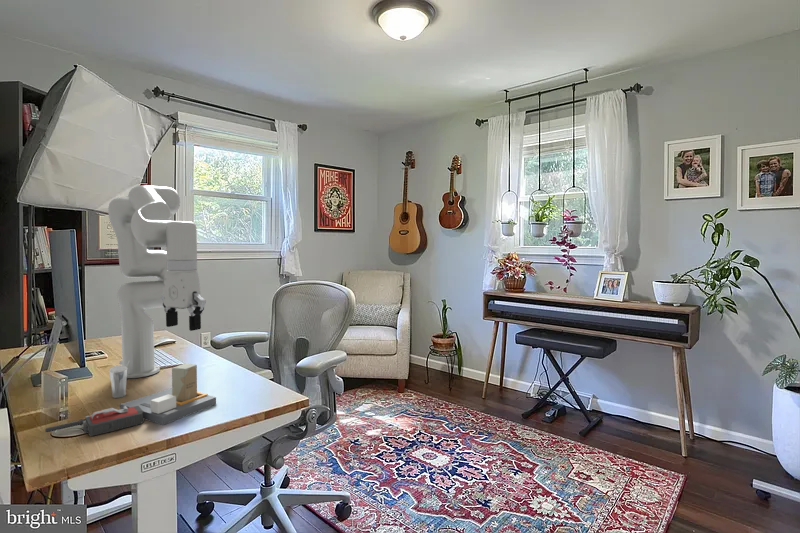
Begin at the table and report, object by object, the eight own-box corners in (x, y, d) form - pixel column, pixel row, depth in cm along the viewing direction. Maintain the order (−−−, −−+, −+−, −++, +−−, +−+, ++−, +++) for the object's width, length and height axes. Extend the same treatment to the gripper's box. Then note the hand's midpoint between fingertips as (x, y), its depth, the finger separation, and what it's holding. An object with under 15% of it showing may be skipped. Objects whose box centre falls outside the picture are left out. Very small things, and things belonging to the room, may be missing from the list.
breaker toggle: (150, 411, 114) (150, 400, 114) (169, 405, 118) (168, 394, 118) (158, 413, 112) (157, 402, 112) (176, 407, 117) (176, 396, 117)
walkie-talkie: (140, 412, 118) (44, 434, 105) (140, 396, 118) (44, 416, 104) (149, 422, 112) (48, 448, 98) (149, 405, 112) (48, 428, 98)
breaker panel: (120, 411, 119) (120, 402, 119) (174, 393, 133) (174, 385, 133) (162, 425, 111) (162, 415, 111) (216, 404, 125) (215, 395, 125)
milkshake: (134, 394, 132) (133, 361, 131) (114, 400, 128) (113, 366, 127) (126, 391, 135) (125, 359, 134) (107, 396, 130) (105, 363, 130)
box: (184, 409, 121) (183, 369, 121) (171, 407, 122) (170, 368, 122) (198, 402, 126) (197, 364, 126) (185, 400, 128) (184, 362, 127)
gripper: (149, 265, 123) (151, 326, 124) (190, 268, 115) (192, 334, 116) (174, 264, 129) (175, 322, 130) (215, 266, 121) (216, 328, 122)
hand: (183, 327), depth 123 cm, fingers open, 9 cm apart
